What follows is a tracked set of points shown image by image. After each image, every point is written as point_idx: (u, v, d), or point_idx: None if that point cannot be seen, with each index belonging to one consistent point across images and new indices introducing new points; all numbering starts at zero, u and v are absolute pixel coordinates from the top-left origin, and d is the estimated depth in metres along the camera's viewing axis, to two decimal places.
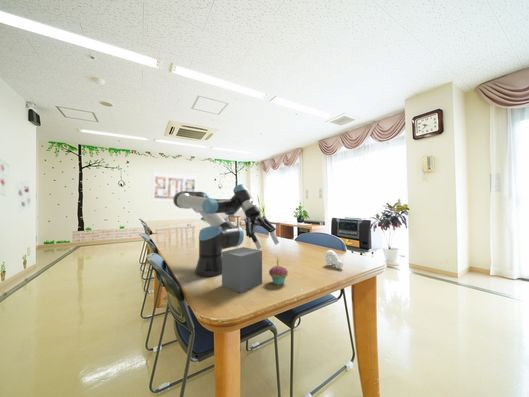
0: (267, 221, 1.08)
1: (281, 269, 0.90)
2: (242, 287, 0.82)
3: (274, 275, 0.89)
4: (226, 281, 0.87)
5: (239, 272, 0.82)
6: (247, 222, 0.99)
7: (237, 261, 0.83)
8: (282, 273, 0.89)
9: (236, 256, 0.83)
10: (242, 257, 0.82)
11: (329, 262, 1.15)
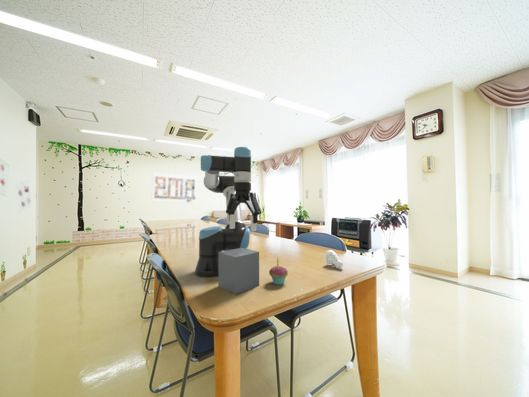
0: (251, 201, 0.86)
1: (281, 269, 0.90)
2: (236, 289, 0.80)
3: (274, 275, 0.89)
4: (222, 282, 0.86)
5: (233, 273, 0.81)
6: None
7: (232, 262, 0.82)
8: (282, 273, 0.89)
9: (231, 257, 0.82)
10: (236, 258, 0.81)
11: (329, 262, 1.15)
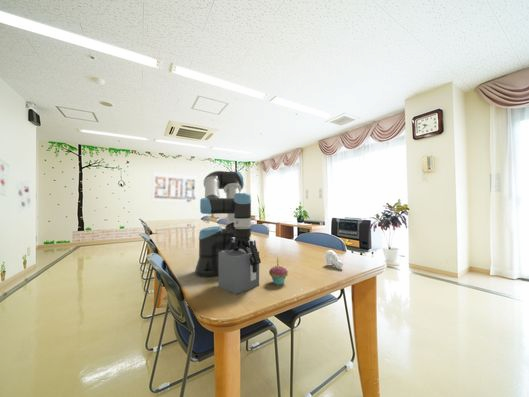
0: (251, 250, 0.85)
1: (281, 269, 0.90)
2: (236, 289, 0.80)
3: (274, 275, 0.89)
4: (222, 282, 0.86)
5: (233, 273, 0.81)
6: None
7: (232, 262, 0.82)
8: (282, 273, 0.89)
9: (231, 257, 0.82)
10: (236, 258, 0.81)
11: (329, 262, 1.15)
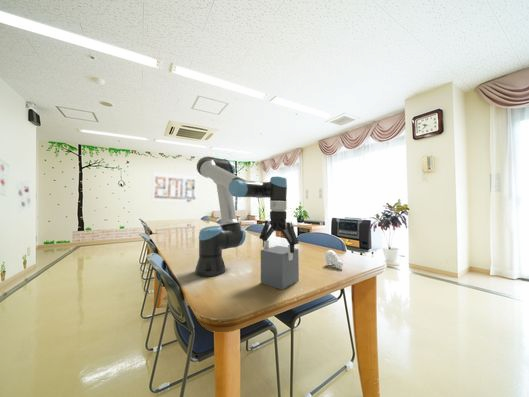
0: None
1: None
2: (283, 284, 0.85)
3: None
4: (265, 279, 0.90)
5: (280, 269, 0.85)
6: None
7: (278, 259, 0.86)
8: None
9: (277, 254, 0.86)
10: (283, 255, 0.85)
11: (329, 262, 1.15)
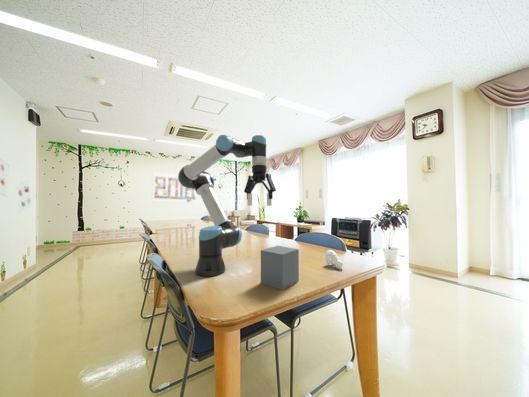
0: (267, 180, 1.02)
1: None
2: (283, 284, 0.85)
3: None
4: (265, 279, 0.90)
5: (280, 270, 0.85)
6: None
7: (278, 259, 0.86)
8: None
9: (277, 254, 0.86)
10: (283, 255, 0.85)
11: (329, 262, 1.15)
